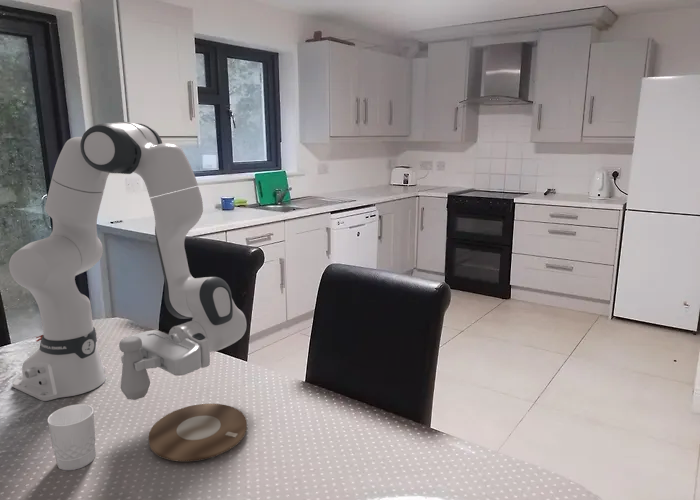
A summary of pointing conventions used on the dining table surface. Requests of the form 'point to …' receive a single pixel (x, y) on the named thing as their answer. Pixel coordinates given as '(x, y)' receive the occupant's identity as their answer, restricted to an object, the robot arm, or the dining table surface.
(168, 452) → the turntable
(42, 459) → the dining table surface
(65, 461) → the white cup
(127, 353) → the salt shaker
